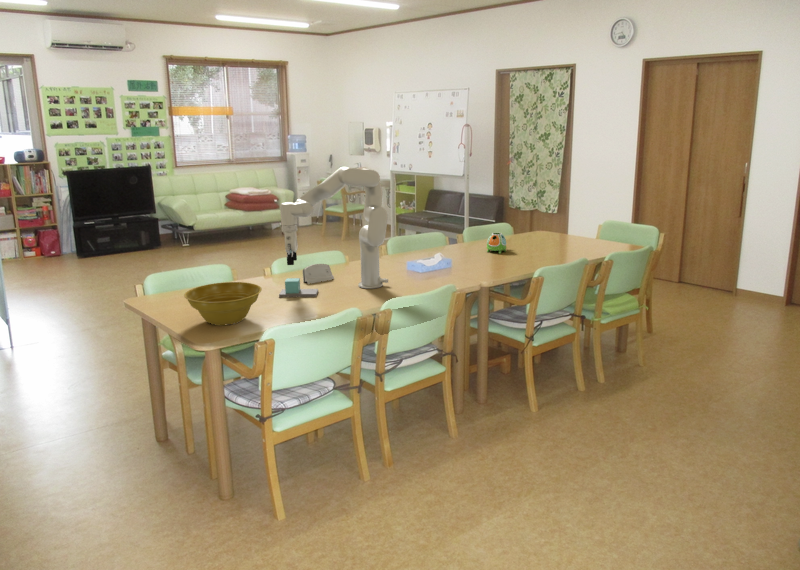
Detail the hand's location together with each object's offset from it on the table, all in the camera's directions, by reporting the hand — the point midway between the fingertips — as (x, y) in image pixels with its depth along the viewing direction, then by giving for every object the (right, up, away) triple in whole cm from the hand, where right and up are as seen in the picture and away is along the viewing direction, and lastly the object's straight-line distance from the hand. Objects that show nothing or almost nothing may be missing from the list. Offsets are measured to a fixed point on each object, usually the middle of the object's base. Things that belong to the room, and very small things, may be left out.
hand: (292, 262), depth 320 cm
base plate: (+3, -16, +4) cm, 16 cm away
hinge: (+9, -9, +32) cm, 34 cm away
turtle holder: (+115, +11, +102) cm, 154 cm away
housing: (0, -14, +4) cm, 15 cm away
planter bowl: (-23, -27, -37) cm, 51 cm away
